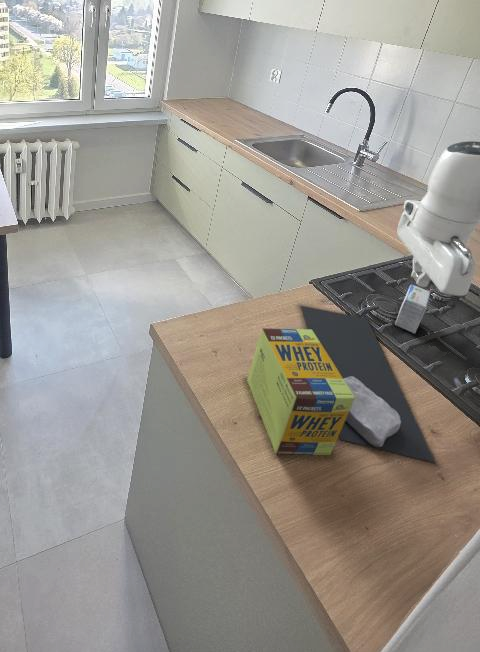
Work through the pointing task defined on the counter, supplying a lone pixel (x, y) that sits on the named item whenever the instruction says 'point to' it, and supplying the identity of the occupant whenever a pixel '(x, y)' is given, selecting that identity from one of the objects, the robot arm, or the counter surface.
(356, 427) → the stone block
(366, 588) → the counter surface
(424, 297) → the medicine box
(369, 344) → the mat
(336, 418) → the protein box
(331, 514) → the counter surface
